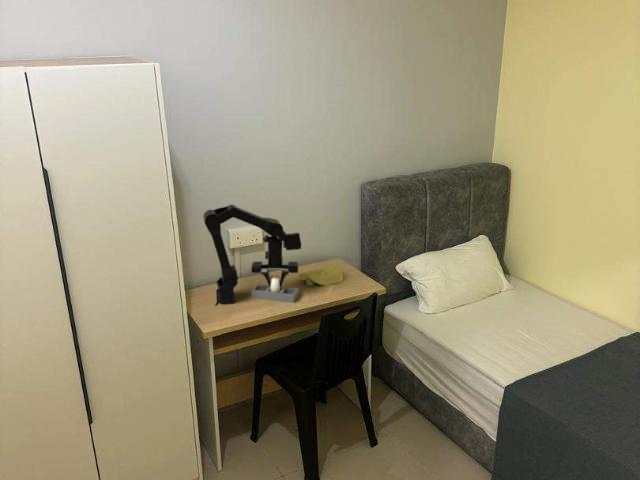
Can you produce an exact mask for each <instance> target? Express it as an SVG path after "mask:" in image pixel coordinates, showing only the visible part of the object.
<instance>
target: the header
mask: <svg viewBox="0 0 640 480" xmlns="http://www.w3.org/2000/svg"><path fill="white" fill-rule="evenodd" d="M250 294H251V299H257V300H266V301H273V302H274V301H275V302H280V303H281V302H282V303H292V304H294V303H295V302H296V300H297V299H298V298H299V296H300V288H299V287H293V286H281V287H280V292H279V293H278V292H270V287H269V285H268V284H267V283H266V284H264V283H257V284H256V285H255V286H254V287H253V288H252V289H251V293H250Z"/></svg>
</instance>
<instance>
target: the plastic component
mask: <svg viewBox="0 0 640 480" xmlns="http://www.w3.org/2000/svg"><path fill="white" fill-rule="evenodd" d="M297 276H298V277H299V279H305V281H306V285H308V286H312V285H315V284H317V285H320V286H328V285H330V284H332V285H335V284H338V283H341V282H343V280H344V275H343V272H342V268H341V266H340V265H336V266H330V267H326V268H322V269H317V270H312V271H309V272H304V273H301V274H298V275H297Z"/></svg>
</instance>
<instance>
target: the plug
mask: <svg viewBox="0 0 640 480" xmlns="http://www.w3.org/2000/svg"><path fill="white" fill-rule="evenodd" d="M280 280H281V276H280V275H277V274H276V275H270V292H278V293H279V292H280Z"/></svg>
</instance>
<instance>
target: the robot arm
mask: <svg viewBox="0 0 640 480" xmlns="http://www.w3.org/2000/svg"><path fill="white" fill-rule="evenodd" d="M202 217H203V222H204V225H205V226H206V229H207V230H208V233H209V234H210V235H211V237H212V241H213V244H214V248H215V252H216V255H217V258H218V261H219V265H220V275H221V276H220V277H219V279H218V280H217V281H216V285H217V289H216V290H215V295H216V303H215V304H214V306H215V307H217V306H218V305H233V304H235V302H236V293H235V290H234V289H235V287H236V286H238V283H239V282H238V280H240V278H239V275H238V272H237V268H236V266H235V264H232V265H231V263H230V261H229V257H228V253H227V250H226V247H225V243H224V241H223V237H222V228H221V224H224V223H225V222H227V221H229V220H230V219H232V218H234V219H237V220H239V221H242V222H244V223H247V224H249V225H252V226H254V227H257V228H259V229H261V230H262V231H263V232H265V233H266V235H265V236H264V237H263V238H262V241H263V242H264V243H267V251H265V255H264V257H265V258H264V259H265V260H267V264H263V261H253V262H252V263H251V273H253V274H254V273H255V274H256V273H257V274H258V273H259V274H261V275H263V277H264V278H265V280H266V282H267V285H269V287H270V277H271V275H270V270H281V275H280V287H281V286H282V285H283V282H284V280H285V278H286V276H288V275H289V274H297V273H299V262H298V261H288V264H283V259H284V258H283V249H285V250H286V251H297V250H301V249H302V242H301V241H302V240H301V237H300V236H301V235H300V233H299V232H294V233H286V231H285V230H284V227H283V226H282V224H281V223H280V221H279V220H278V219H276V218H272V217H271V218H269V217H263V216H260V215H257V214H256V213H253V212H250V211H248V210H245V209H242V208H240V207H238V206H236V205H234V204H229V205H227V206H223V207H218V208H215V209H207V210H206V211H205V212H203V215H202Z"/></svg>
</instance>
